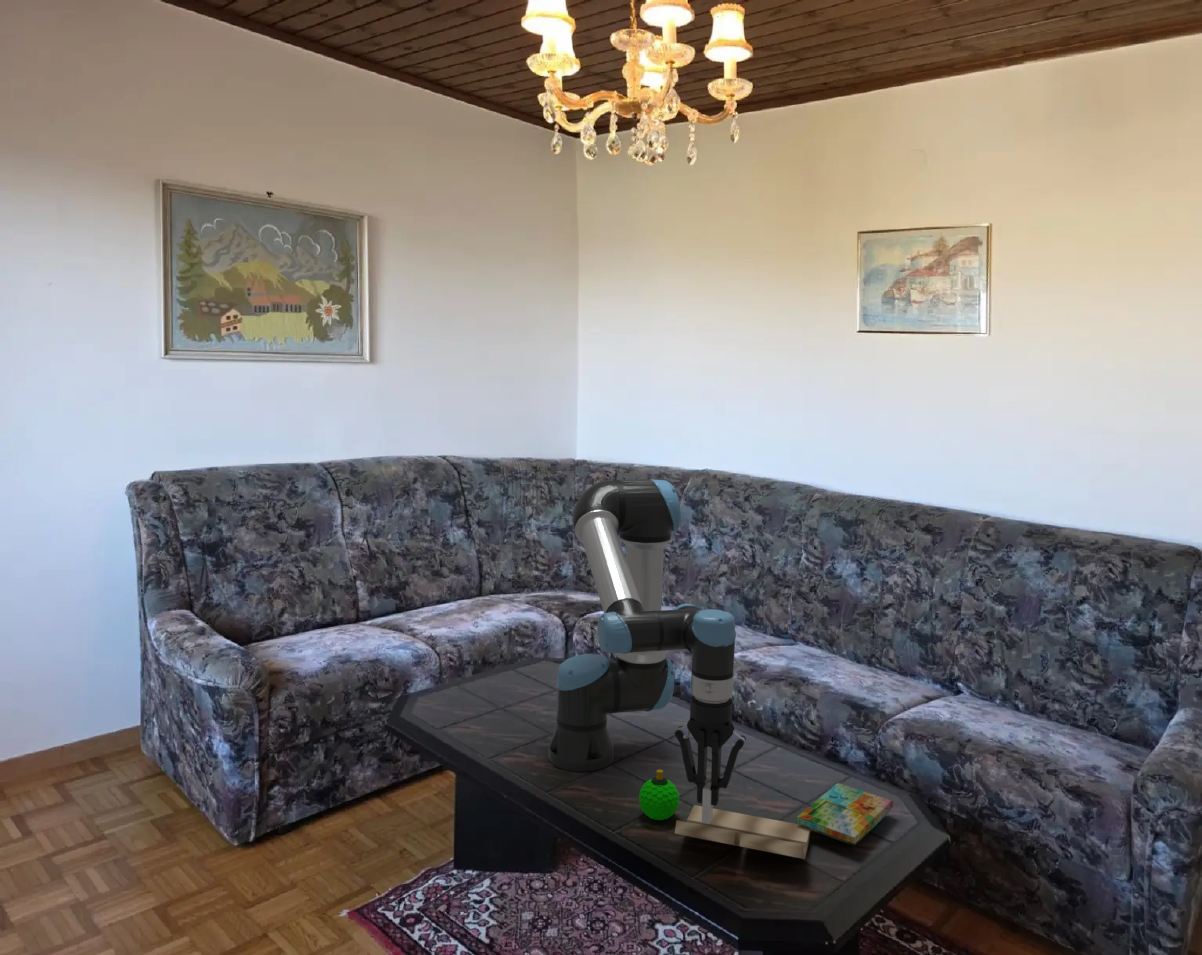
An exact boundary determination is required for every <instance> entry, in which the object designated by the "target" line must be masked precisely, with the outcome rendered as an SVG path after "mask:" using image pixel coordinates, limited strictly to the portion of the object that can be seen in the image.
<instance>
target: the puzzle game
mask: <svg viewBox="0 0 1202 955" xmlns="http://www.w3.org/2000/svg"><path fill="white" fill-rule="evenodd" d="M893 807H894V800H891V799H888V798H886V797H882V796H879V795H876V794H873V793H870V792H868V791H865V790H864V791H863V790H860V789H858V788H854V787H851V786H849V785H845V784H843V783H840V782H837V783H836V784H834V785H833V786H831V788H829V789H828V790H827V791H826V792H825V793H824V794H822V795H821V796H820V797H819V798H818V799H817V800H815V801H813V803H811V804H810V805H809V806H808V807H806V809H804V810H803V811H802V812H801V813H800V814H798V815H797V816H795V817H796V818H795V819H796V820H795V822H796V824H799V825H805V826H807V827H810V831H813V832H815V833H818V834H821V835H823V836H826V837H829V838H831V839H834V840H837V841H840V842H842V843H845V844H847V845H851V846H854V847H855V846H856V845H857V844H859V842H860V841H861V840H863V838H864V837H865V836H866V835H868V834H869V833H870V831H872V830H873V828H874V827H876V826H877V825H878V824H879V823H880V822H881V821H882V820H883V819H884V818H885V817H886V816H887V815H888V814H889V813H890V812H891V810H892V809H893Z"/></svg>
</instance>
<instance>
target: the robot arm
mask: <svg viewBox="0 0 1202 955" xmlns="http://www.w3.org/2000/svg"><path fill="white" fill-rule="evenodd" d="M680 505H681V504H680V500H679V496H678V493H677V491H676V489H675V487H674V485H673V484H672V483H671V482H669V481H668V480H663V479H653V478H650V479H646V478H645V479H643V478H642V479H618V480H617V479H616V480H614V479H607V480H601V481H598V482H596V483H595V484H593V485H591V486H590V487H587V489H586V490H585V491H584V492H583V493H582V494H581V495H580V497H579V498H578V500H577V502H576V503H575V506H574V509H573V512H572V527H573V531H574V535H575V537H576V539H577V540H578V541H579V542H580V543H581V544H582V545H583V548H584V551H585V554H586V557H587V558H586V559H587V562H588V564H589V568H590V572H591V575H592V578H593V580H594V581H593V582H594V584H595V587H596V588H595V589H596V591H597V595H598V598H599V601H600V604H601V608H602V611H603V613H602V614H600V616H599V618H598V621H597V630H596V631H597V637H598V639H597V640H598V645H599V647H600V649H601V650H602V651H603V652H604V653H606V654H615V661H609V659H608V658H607V657H606V656H605V655H602V654H599V653H598V654H597V653H596V654H594V653H584V654H578V655H574V656H571V657H569V658H567V659H566V660H564V661H562V663H561V664H559V666H558V669H557V678H556V683H555V685H556V725H555V728H554V731H553V734H552V737H551V739H550V742H549V745H548V761H549V763H551V764H552V765H554V767H557V768H559V769H561V770H566V771H571V772H580V773H581V772H583V773H585V772H593V771H599V770H602V769H604V768H606V767H608V766H609V765H611V764H612V763H613V761H614V760H615V759H614V756H615V755H614V754H615V748H614V745H613V742H612V737H611V734H610V731H609V729H608V715H609V714H619V713H633V712H635V713H636V712H651V711H655V710H662V709H664V708H666V706H667V705H669V703H670V702H671V699H672V698H673V694H674V689H675V688H674V687H675V675H674V672H675V669H674V665H673V663H672V661H671V660H670V659H669V658H667V653H666V651H677V650H679V651H681V650H688V652H689V653H691V679H690V682H691V683H690V684H691V685H690V693H691V696H690V704H689V705H690V707H689V708H690V710H689V711H690V712H689V719H688V721H687V722H686V724H685V725H684V726H682V725H681V726H678V727H677V729H676V730H675V733H674V736H675V737H676V740H677V741H678V743H679V745H680V750H681V755H682V760H683V764H684V769H685V770H684V771H685V774H686V779H687V780H686V781H688V782H689V783H693V784H694V785H696V788H697V790H696V802H697V803H698V804H701V805H702V823H706V824H710V822H711V820H712V818H713V809H714V807H717V805H718V802H719V801H720V789H727V788H728V786H729V784H730V781H731V778H732V775H733V772H734V768H735V764H736V762H737V758H738V755H739V752H740V750H741V749H742V748H743V747H744V746H745V743H746V740H747V738H746V736H745V735H740V734H738V732H737V731H735V726H734V725H733V720H732V719H733V699H732V697H733V695H734V670H735V669H734V667H735V666H734V665H735V664H734V663H735V648H736V647H735V646H736V637H737V632H736V620H735V619H736V618H735V617H734V615H733V614H732V613H730V612H729V611H724V610H721V609H714V608H713V609H711V608H710V609H709V608H708V609H702V608H701V607H698V606H697V605H695V604H692V603H683V604H679V605H677V606H676V607H674V608H672V609H664V610H663V609H662V605H663V604H662V599H663V598H662V597H663V577H664V576H663V573H664V572H663V571H664V570H663V569H664V567H663V566H664V552H665V551H664V547H665V546H666V545H667V544H668V543H669V542H671V538H672V536H671V535H672V532H675V531H677V530H678V529H679V528H680V525H681V523H682V522H681V519H682V513H681V506H680ZM618 533H619V535H618ZM621 542H622V543H623V545H625V552H624V549H623V547H622V543H621ZM691 735H692V738H693V739H694V741H695V743H697V767H696V764H695V758H694V755H693V749H692V744H691V740H690V736H691ZM730 739H731V742H730V745H731V746H732V748H731V750H730V753H729V755H728V760H727V763H726V766H725V770H724V772H723V776H722V777H721V768H722V767H721V764H722V761H721V760H722V747H723V746H724V745H725V744H726V743H727V741H728V740H730ZM708 748H711V768H710V769H711V770H710V771H711V776H710V778H711V779H710V782H707V779H708V777H707V767H708V766H707V765H708ZM696 768H697V769H696Z"/></svg>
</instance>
